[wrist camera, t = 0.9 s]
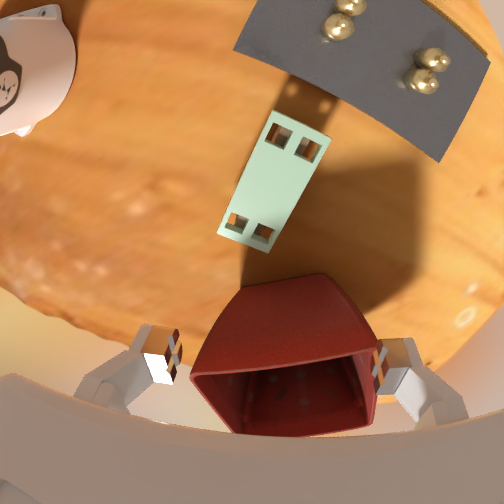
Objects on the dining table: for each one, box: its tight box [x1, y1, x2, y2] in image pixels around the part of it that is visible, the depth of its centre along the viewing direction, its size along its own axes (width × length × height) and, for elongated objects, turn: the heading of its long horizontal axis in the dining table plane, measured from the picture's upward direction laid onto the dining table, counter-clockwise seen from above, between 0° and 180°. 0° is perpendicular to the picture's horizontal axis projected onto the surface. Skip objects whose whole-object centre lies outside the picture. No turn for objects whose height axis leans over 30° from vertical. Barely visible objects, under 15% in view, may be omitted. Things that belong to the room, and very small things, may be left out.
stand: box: [234, 125, 310, 236], centre depth 32 cm, size 3×12×4 cm, turn 157°
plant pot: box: [189, 273, 378, 437], centre depth 38 cm, size 19×19×17 cm
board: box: [217, 109, 332, 253], centre depth 30 cm, size 14×6×1 cm, turn 157°
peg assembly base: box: [233, 0, 491, 163], centre depth 22 cm, size 26×16×6 cm, turn 67°
